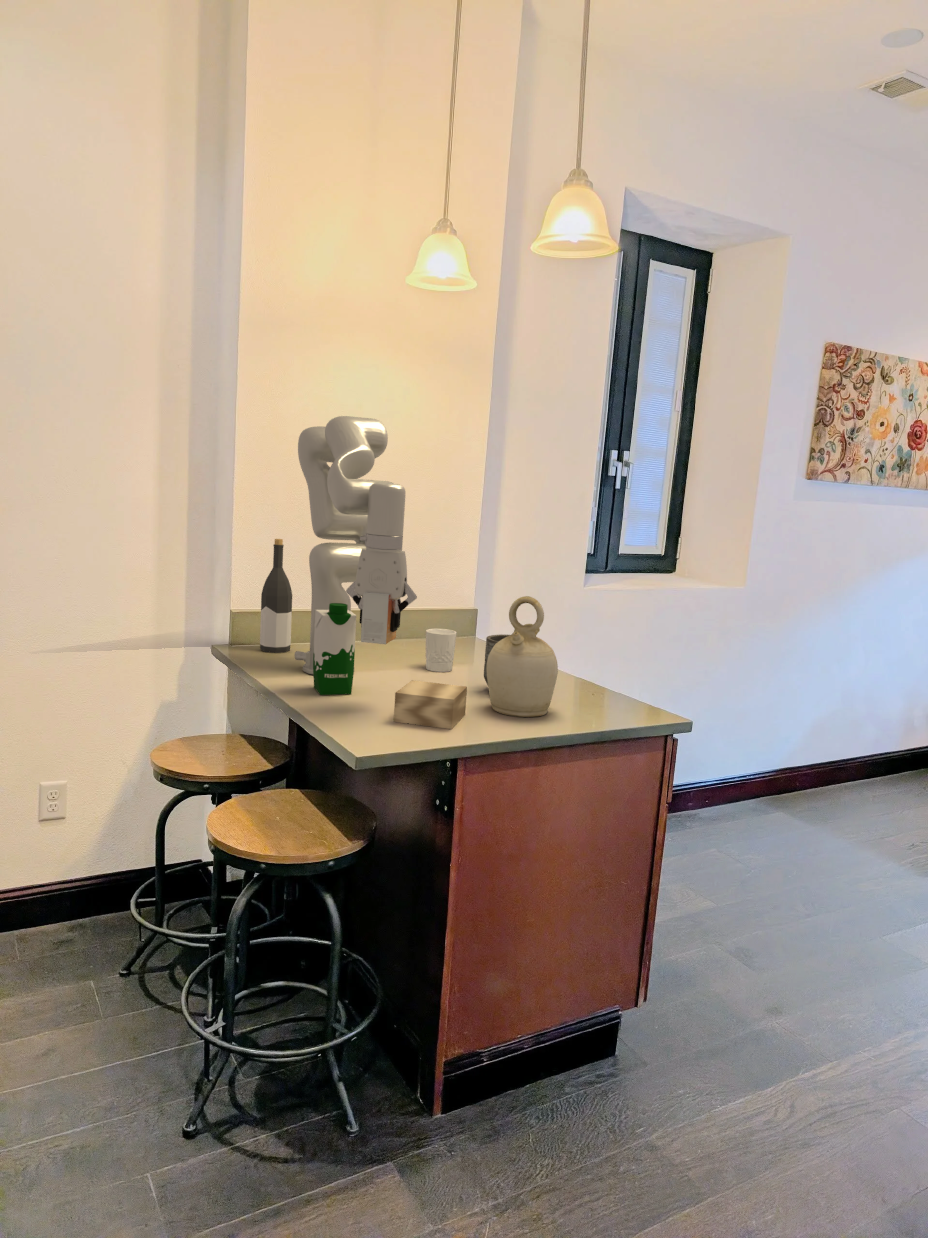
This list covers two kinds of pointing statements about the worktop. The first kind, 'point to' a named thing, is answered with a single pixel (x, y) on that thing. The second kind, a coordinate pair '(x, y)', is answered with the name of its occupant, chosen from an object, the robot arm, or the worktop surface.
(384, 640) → the small box
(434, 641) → the white cup
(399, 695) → the beech block
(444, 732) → the worktop surface
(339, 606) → the milk carton
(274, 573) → the wine bottle
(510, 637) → the jug
